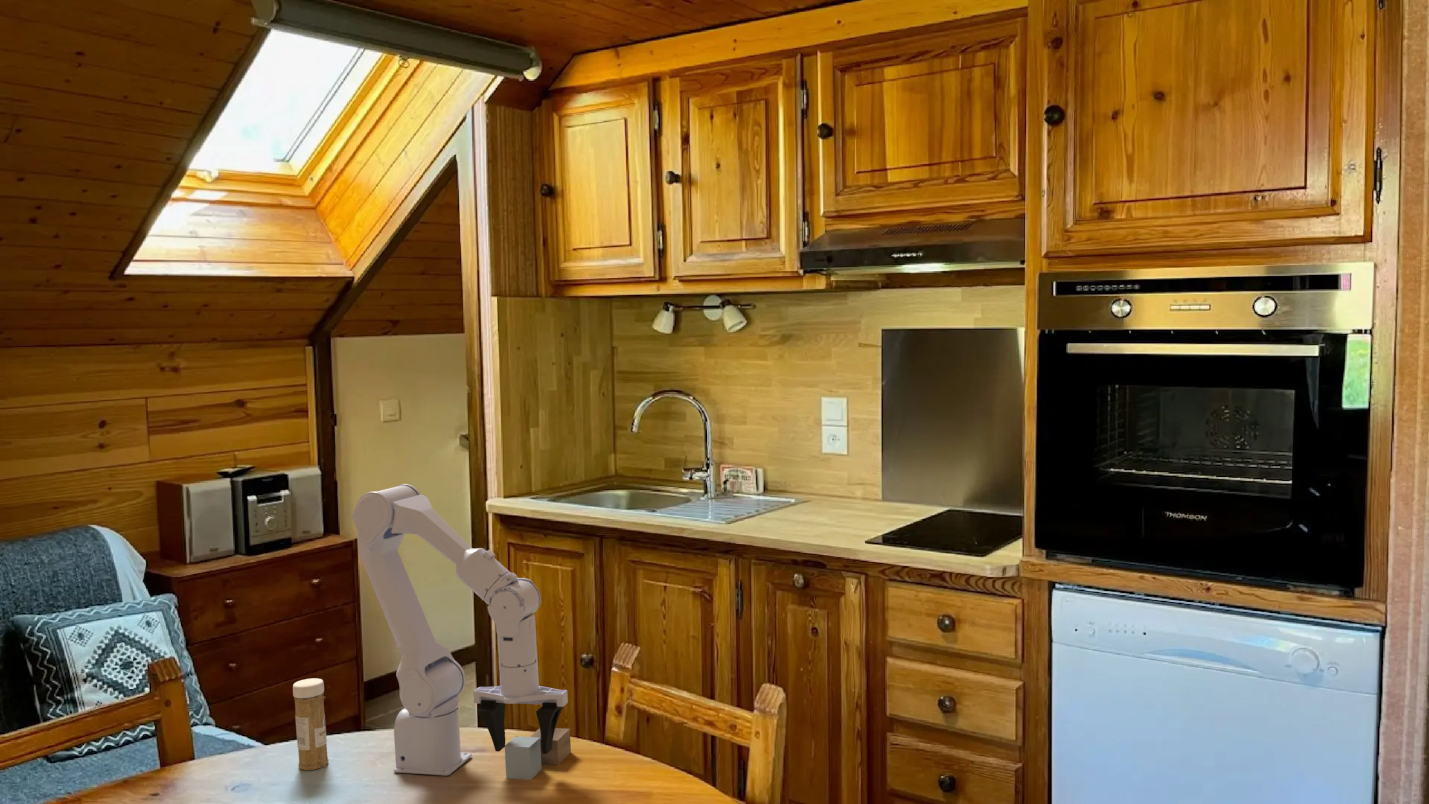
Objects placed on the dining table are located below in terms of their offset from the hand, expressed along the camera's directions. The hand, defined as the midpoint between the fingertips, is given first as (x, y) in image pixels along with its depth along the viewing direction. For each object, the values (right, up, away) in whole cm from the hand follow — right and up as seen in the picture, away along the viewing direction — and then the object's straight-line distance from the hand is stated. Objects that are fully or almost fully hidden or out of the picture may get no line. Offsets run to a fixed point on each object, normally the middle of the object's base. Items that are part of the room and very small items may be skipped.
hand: (523, 750), depth 164 cm
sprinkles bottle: (-34, -5, +7) cm, 35 cm away
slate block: (0, -4, 0) cm, 4 cm away
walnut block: (+3, -3, +6) cm, 8 cm away
